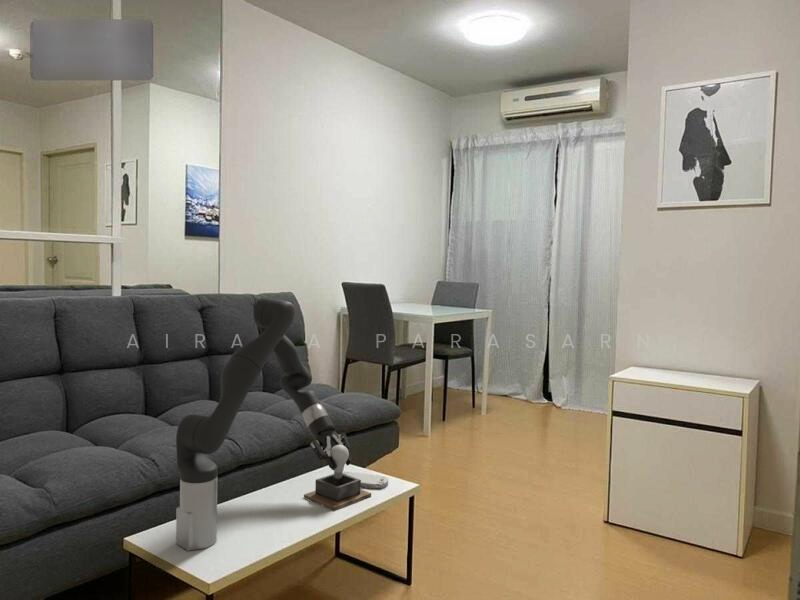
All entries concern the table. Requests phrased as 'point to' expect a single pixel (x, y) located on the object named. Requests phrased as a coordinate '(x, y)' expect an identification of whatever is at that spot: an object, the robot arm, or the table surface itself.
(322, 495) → the holder
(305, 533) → the table surface
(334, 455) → the lightbulb
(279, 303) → the robot arm
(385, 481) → the game console
